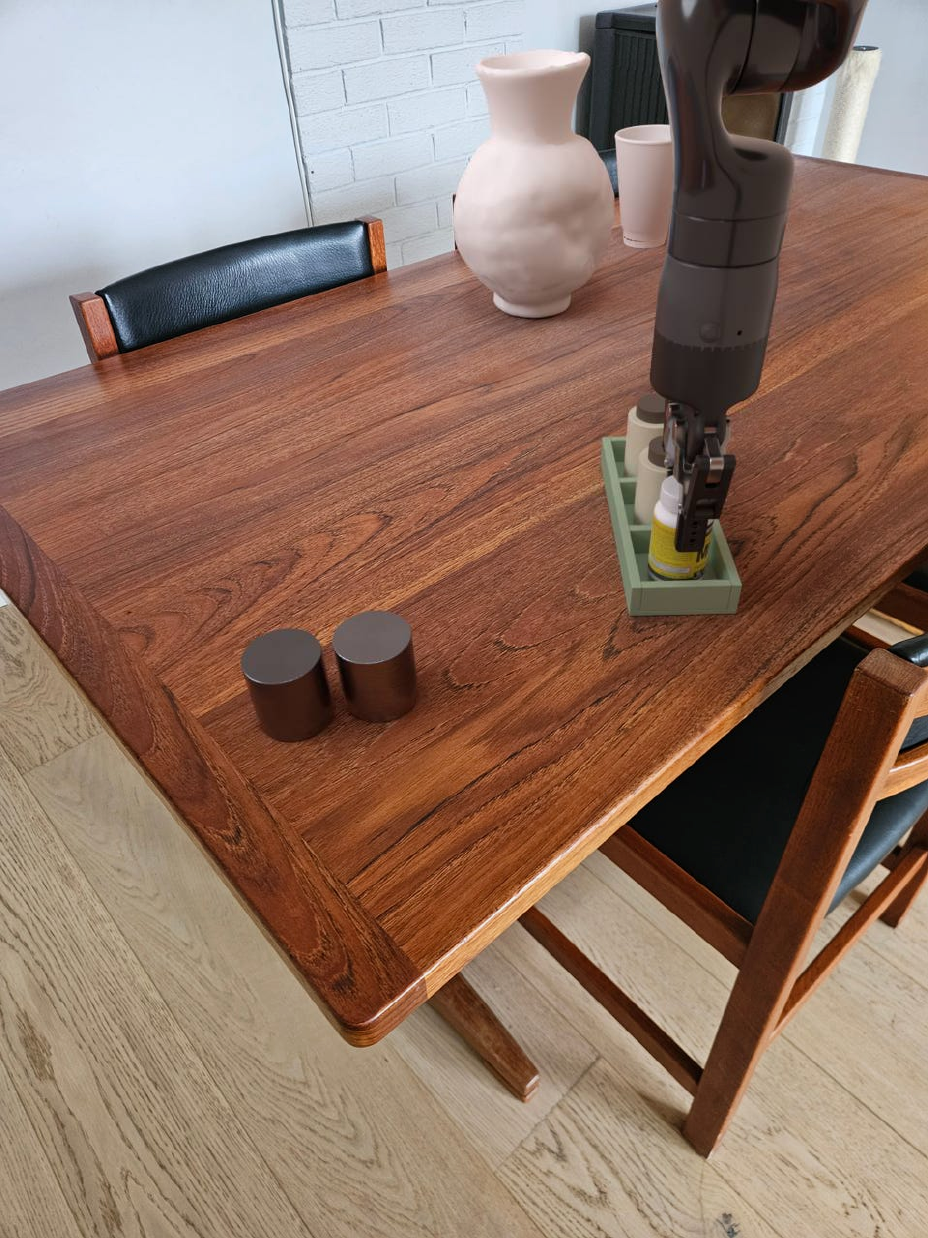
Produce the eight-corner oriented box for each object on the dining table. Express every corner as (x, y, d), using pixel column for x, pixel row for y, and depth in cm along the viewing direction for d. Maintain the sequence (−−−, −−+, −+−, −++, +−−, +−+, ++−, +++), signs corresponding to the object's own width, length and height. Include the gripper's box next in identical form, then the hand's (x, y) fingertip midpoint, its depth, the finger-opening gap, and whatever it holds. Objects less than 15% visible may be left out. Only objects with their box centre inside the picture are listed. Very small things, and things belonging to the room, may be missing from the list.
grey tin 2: (431, 679, 63) (424, 620, 59) (397, 731, 59) (387, 672, 55) (367, 661, 65) (357, 602, 61) (330, 710, 61) (316, 651, 57)
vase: (433, 311, 119) (413, 63, 99) (538, 271, 129) (539, 39, 109) (522, 346, 108) (521, 76, 88) (630, 300, 118) (649, 48, 98)
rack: (684, 460, 85) (688, 433, 83) (736, 613, 67) (742, 585, 65) (600, 462, 85) (601, 436, 83) (629, 616, 67) (632, 587, 65)
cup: (684, 252, 132) (697, 139, 122) (609, 253, 134) (615, 142, 123) (677, 229, 141) (689, 122, 131) (607, 231, 142) (613, 125, 132)
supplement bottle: (701, 593, 67) (716, 506, 61) (642, 585, 68) (652, 498, 62) (707, 559, 70) (722, 473, 65) (651, 551, 71) (661, 466, 66)
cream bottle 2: (693, 515, 76) (706, 436, 71) (681, 545, 73) (693, 464, 68) (641, 505, 78) (649, 427, 73) (626, 534, 75) (633, 454, 69)
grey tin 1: (348, 697, 62) (336, 639, 58) (308, 751, 58) (292, 692, 54) (286, 678, 64) (270, 620, 60) (243, 729, 60) (223, 671, 56)
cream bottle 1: (679, 471, 82) (690, 394, 77) (667, 497, 79) (677, 419, 73) (630, 462, 84) (637, 387, 78) (616, 487, 81) (622, 411, 75)
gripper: (799, 363, 49) (750, 584, 61) (744, 280, 60) (711, 481, 71) (673, 368, 50) (647, 586, 61) (641, 285, 61) (624, 483, 72)
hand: (682, 528), depth 66 cm, fingers closed on supplement bottle, 4 cm apart
